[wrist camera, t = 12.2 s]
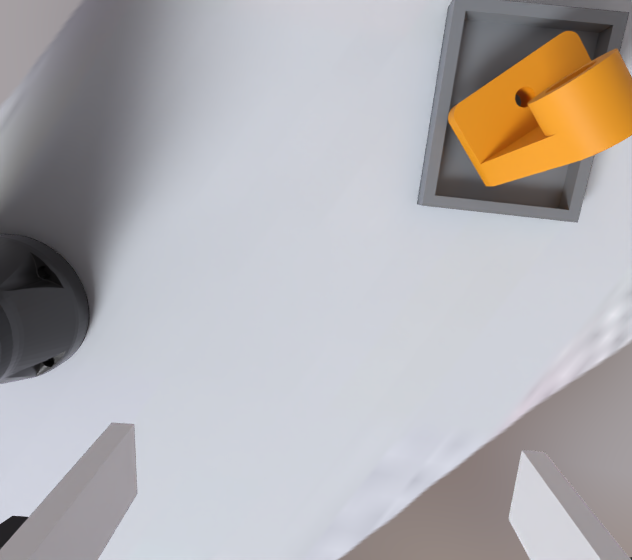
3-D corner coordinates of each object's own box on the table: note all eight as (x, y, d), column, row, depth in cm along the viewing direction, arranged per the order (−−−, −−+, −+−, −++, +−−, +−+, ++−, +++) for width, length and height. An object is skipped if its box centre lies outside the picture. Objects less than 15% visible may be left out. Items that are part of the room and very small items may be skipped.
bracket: (555, 36, 35) (664, -37, 23) (595, 113, 36) (718, 81, 25) (441, 115, 37) (489, 83, 25) (482, 186, 38) (547, 187, 26)
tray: (417, 204, 41) (422, 205, 39) (447, 7, 37) (455, -5, 35) (563, 220, 41) (577, 222, 38) (609, 23, 37) (629, 12, 34)
